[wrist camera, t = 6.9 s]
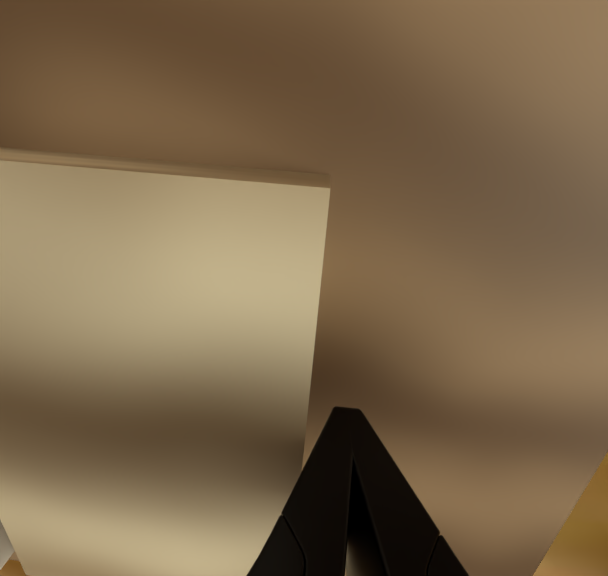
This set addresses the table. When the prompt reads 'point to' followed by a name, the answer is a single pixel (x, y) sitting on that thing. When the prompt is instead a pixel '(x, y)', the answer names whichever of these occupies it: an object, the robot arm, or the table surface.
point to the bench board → (389, 212)
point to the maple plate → (152, 359)
